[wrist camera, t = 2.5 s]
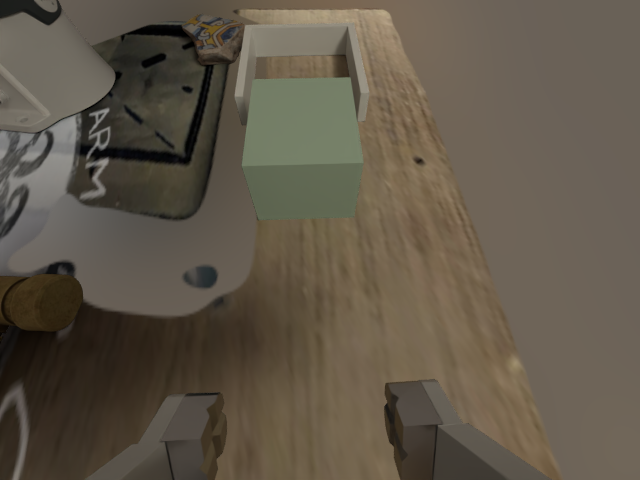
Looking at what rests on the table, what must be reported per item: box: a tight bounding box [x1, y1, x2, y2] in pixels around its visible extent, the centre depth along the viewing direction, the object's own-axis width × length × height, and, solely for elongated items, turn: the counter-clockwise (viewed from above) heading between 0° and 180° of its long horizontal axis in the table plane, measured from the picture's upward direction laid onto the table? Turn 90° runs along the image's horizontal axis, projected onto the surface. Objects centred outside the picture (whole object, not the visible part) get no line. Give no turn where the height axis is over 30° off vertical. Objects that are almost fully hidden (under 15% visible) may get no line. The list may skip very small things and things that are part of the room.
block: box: [242, 77, 363, 220], centre depth 31 cm, size 10×12×8 cm
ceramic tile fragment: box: [182, 15, 245, 65], centre depth 47 cm, size 12×3×10 cm
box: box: [234, 23, 369, 125], centre depth 41 cm, size 16×17×4 cm
